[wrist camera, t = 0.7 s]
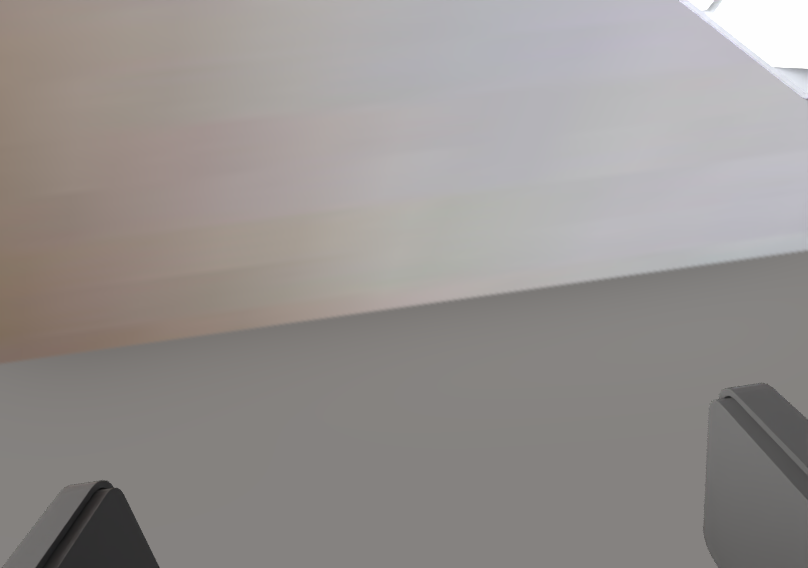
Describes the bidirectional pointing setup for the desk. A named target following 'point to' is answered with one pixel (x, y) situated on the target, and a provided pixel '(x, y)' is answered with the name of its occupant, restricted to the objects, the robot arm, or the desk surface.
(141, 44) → the desk surface
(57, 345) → the desk surface
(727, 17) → the module rail
